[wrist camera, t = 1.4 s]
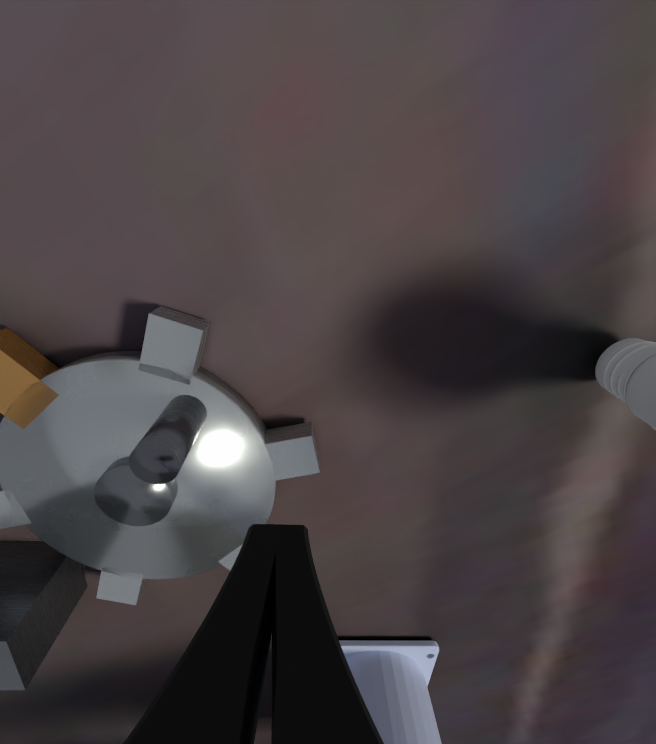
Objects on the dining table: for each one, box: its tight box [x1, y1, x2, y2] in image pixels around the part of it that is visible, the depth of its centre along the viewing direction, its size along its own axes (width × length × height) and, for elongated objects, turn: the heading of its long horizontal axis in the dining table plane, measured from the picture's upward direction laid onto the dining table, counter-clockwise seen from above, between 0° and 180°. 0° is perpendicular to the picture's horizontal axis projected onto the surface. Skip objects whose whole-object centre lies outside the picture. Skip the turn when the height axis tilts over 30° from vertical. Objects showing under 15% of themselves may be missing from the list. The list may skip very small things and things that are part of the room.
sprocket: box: [0, 306, 320, 605], centre depth 15 cm, size 16×16×5 cm
